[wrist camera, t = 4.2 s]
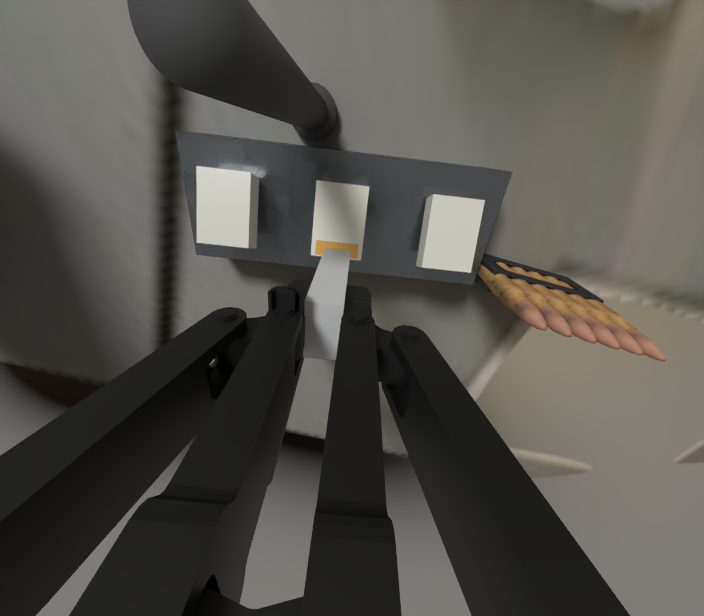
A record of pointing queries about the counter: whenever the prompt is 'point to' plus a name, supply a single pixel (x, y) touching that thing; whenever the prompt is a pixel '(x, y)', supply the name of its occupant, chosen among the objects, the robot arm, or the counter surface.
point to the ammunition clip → (560, 306)
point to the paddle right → (449, 233)
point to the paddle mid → (339, 218)
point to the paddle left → (227, 207)
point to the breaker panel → (349, 168)
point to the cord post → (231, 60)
